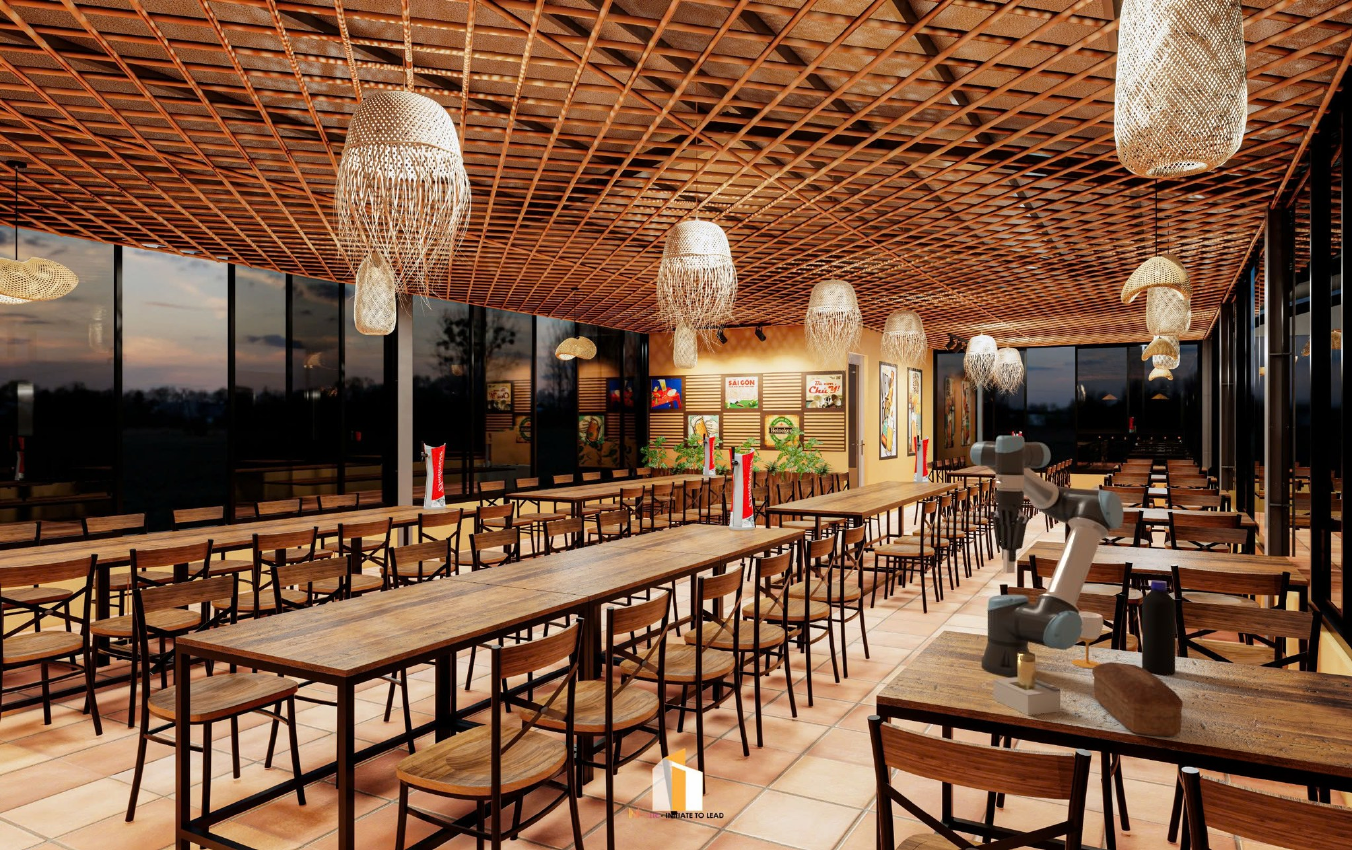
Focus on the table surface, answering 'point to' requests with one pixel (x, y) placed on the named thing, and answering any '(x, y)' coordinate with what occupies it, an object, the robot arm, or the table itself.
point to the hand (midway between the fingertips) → (1008, 572)
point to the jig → (1027, 696)
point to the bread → (1137, 699)
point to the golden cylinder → (1026, 670)
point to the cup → (1089, 635)
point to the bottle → (1158, 630)
